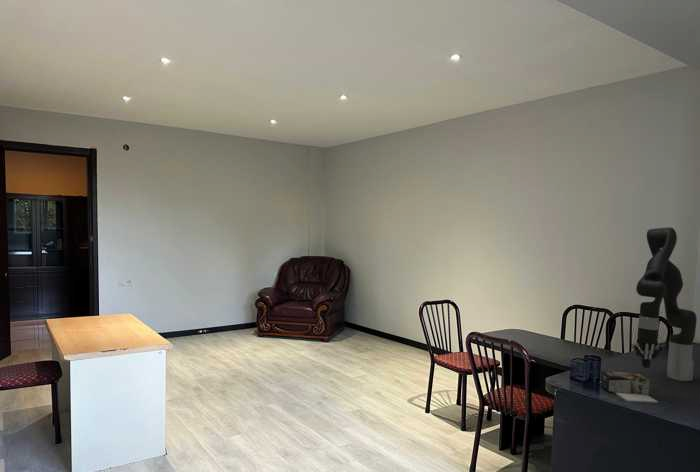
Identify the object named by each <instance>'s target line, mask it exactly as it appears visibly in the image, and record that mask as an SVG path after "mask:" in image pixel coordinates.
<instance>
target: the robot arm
mask: <svg viewBox="0 0 700 472" xmlns="http://www.w3.org/2000/svg"><path fill="white" fill-rule="evenodd" d="M646 240H647V244H648V247H649V250H650V253H651V258H650V259H649V260H648V262H647V264H646V267H645V271H644V274H643V275H642V277H641V278H640V279H639V280H638V281H637V284H636V287H635V290H636V293H637V294H638V295H639V296H641V297H647V298H653V299H654V300H653V301H643V302H641V303H640V305H639V306H640V307H639V318H638V322H637V323H638V324H637V339H636V342H635V343H633V344H631V345H630V347H631V348H632V350H633V352H635V354H636V356H638V357H639V358H641V366H642V367H643V368H644V369H649V368H650V367H651V360H652V359H655V358H657V357H658V355H660V353H662V351H663V349H664V347H663V346H661V345H660V344H659V341H658V340H659V334H660V333H659V332H660V331H659V330H660V310H661V304H662V301H663V303H664V311H665V317H666V321H667V324H668V325H669V326H671V327H674V328H677V329H680V332H679V333H677V334H676V333H675V334H670V336H669V341H668V354H667V355H668V357H667V359H668V360H667V371H666V377H667V378H669V379H672V380H675V381H680V382H691V381H693V377H694V363H695V362H694V360H693V345H694V344H693V343H694V339H695V337H696V329H697V314H696V312H695V311H692V310H688V309H684V308H679V306H678V296H679V295H680V294H681V291H682V289H683V288H684V287H683V286H684V281H683V278H682V274H681V271H680V269H679V268H678V267H677V266H676V265H675V264H674V263H673V262H672V261H671V260H670V258H671V255H672V253H673V251H674V249H675V247H676V245H677V240H678V236H677V232H676V229H674V228H673V227H667V226H666V227H659V228H650V229H648V230H647V231H646Z"/></svg>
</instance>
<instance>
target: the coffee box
mask: <svg viewBox="0 0 700 472" xmlns="http://www.w3.org/2000/svg"><path fill="white" fill-rule="evenodd" d="M600 373H601V374H600V382H601V384H600V385H601V386H602V387H603V388H604V389H605V390H607V391H608V392H612V393H614V392H623V393H634V394H645V395H648V396H649V395H650V393H649V392H650V380H649V379H648V378H646V377H645V376H643V375H642V374H640V373H631V372H619V371H618V372H616V371H604V370H601V371H600Z"/></svg>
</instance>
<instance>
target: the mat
mask: <svg viewBox="0 0 700 472" xmlns="http://www.w3.org/2000/svg"><path fill="white" fill-rule="evenodd" d="M599 382H600V383H601V381H599ZM600 383H599V384H600ZM615 393H616V394H615ZM613 394H615V395H617V396H618V397H620V398H621V399H623V400H624V401H626V402H636V403H637V402H638V403H655V404H656V403H659V401H658V400H656V399H654V398H652V397H651V396H649V394H648V395H645V394H634V393H623V392H613Z"/></svg>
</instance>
